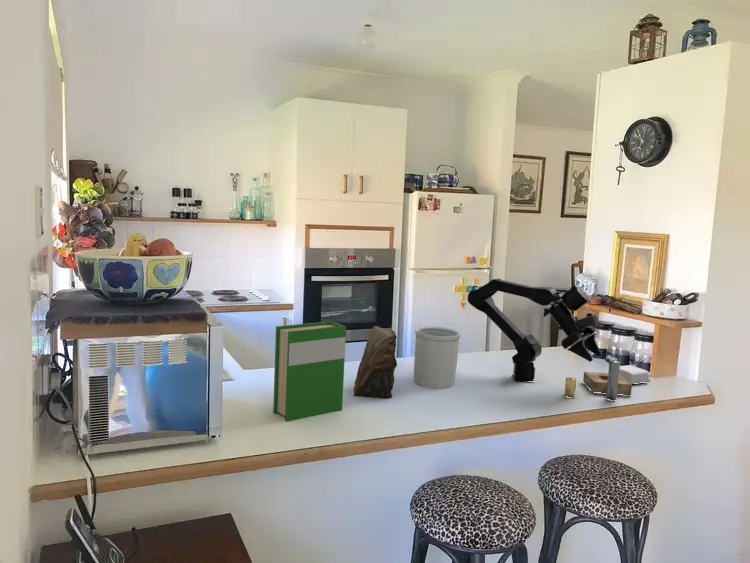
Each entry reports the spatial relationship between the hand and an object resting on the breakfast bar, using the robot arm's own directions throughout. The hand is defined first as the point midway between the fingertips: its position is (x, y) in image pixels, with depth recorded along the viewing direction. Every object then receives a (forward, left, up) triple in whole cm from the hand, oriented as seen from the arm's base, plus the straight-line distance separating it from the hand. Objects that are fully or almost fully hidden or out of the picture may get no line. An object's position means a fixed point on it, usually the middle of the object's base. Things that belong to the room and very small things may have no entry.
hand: (595, 358), depth 190 cm
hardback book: (-87, -34, -13) cm, 94 cm away
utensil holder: (-51, +2, -13) cm, 53 cm away
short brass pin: (-8, -3, -12) cm, 15 cm away
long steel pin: (+5, -3, -12) cm, 14 cm away
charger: (+21, +22, -13) cm, 33 cm away
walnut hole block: (+7, +8, -12) cm, 16 cm away
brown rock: (-71, -14, -13) cm, 74 cm away
